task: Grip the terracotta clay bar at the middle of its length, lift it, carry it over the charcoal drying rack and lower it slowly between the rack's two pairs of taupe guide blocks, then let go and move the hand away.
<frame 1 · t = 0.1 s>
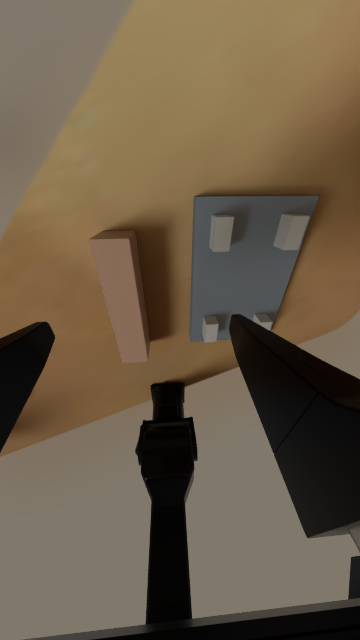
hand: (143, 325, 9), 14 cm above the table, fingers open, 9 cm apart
drying rack: (237, 279, 24), on the table
clay strip: (131, 296, 24), on the table
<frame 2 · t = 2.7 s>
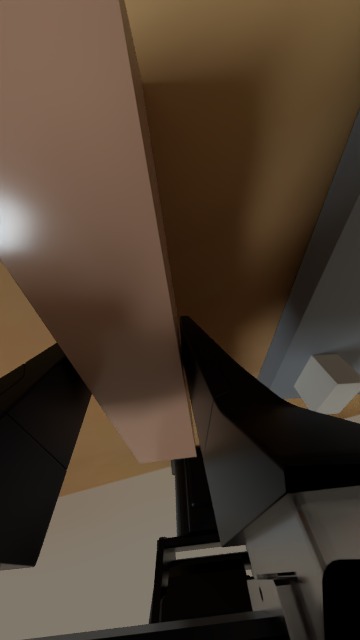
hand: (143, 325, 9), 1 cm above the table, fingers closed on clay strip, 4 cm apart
clay strip: (145, 310, 10), on the table, touching gripper
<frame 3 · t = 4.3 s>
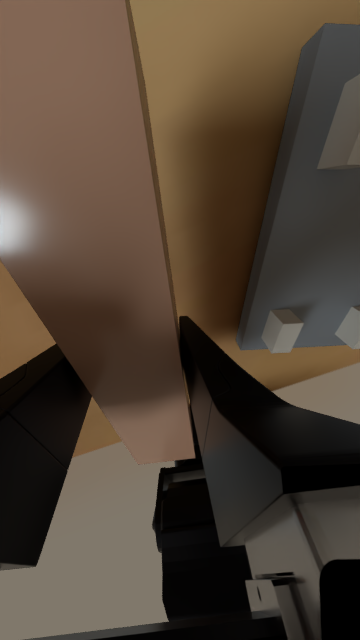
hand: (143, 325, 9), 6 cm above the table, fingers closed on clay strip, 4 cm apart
drying rack: (332, 247, 14), on the table
clay strip: (145, 311, 10), point 5 cm above the table, touching gripper
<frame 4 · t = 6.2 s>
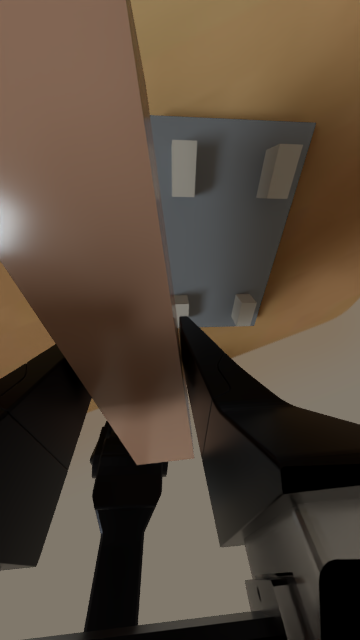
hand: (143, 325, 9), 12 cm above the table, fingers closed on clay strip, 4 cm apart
drying rack: (213, 249, 19), on the table
clay strip: (144, 311, 10), point 11 cm above the table, touching gripper
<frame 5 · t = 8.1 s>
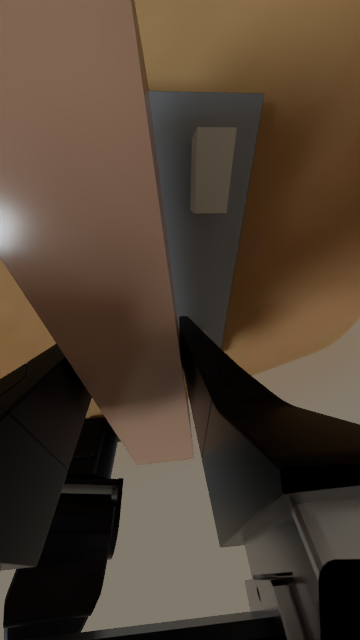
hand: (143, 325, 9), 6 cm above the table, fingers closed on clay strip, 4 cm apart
drying rack: (151, 275, 14), on the table
clay strip: (145, 311, 10), point 5 cm above the table, touching gripper
when the fingers open (4 cm above the table, at t = 9.8 s): clay strip stays where it is, resting on drying rack.
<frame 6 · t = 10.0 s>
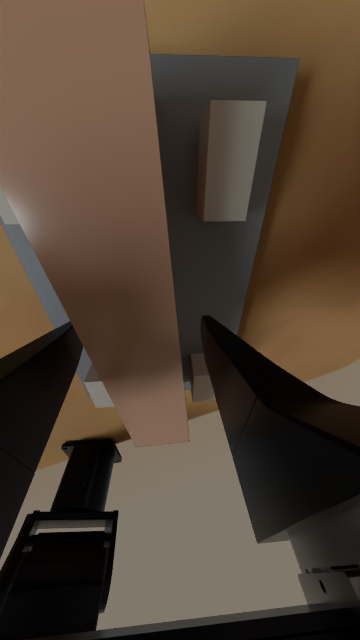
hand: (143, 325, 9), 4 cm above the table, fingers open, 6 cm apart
drying rack: (149, 291, 12), on the table
clay strip: (146, 303, 11), point 1 cm above the table, touching drying rack
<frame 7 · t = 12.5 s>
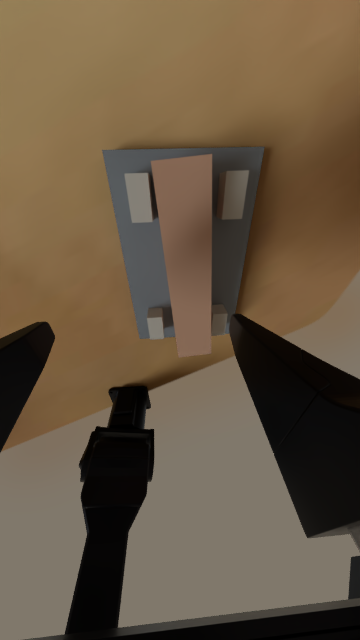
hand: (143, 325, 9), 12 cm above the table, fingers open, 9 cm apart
drying rack: (184, 263, 20), on the table
clay strip: (185, 268, 19), point 1 cm above the table, touching drying rack
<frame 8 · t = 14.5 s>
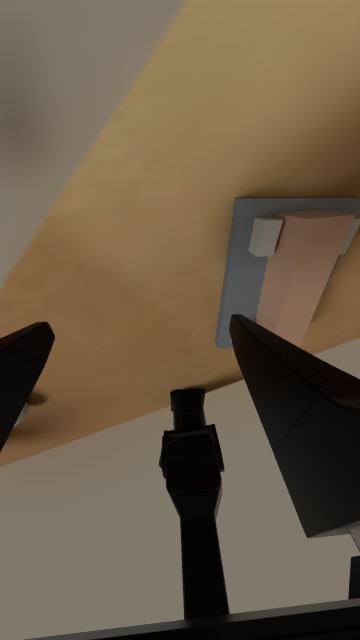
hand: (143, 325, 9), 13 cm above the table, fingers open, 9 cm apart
drying rack: (270, 284, 23), on the table
clay strip: (275, 289, 22), point 1 cm above the table, touching drying rack
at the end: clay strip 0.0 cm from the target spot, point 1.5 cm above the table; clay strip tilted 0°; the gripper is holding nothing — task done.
